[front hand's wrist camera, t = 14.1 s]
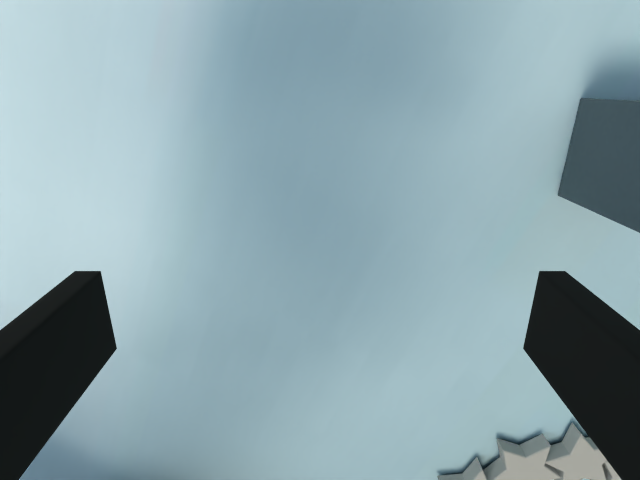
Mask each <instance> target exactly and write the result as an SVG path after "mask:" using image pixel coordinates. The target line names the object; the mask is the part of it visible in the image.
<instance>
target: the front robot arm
mask: <svg viewBox="0 0 640 480" xmlns="http://www.w3.org/2000/svg"><path fill="white" fill-rule="evenodd" d="M116 349H117V348H116V343H115V338H114V333H113V328H112V324H111V319H110V314H109V309H108V304H107V300H106V295H105V290H104V285H103V280H102V276H101V271H75V272H73V273H72V274H71V275H70V276H68V277H67V278H66V279H65V280H63V281H62V282H61V283H59V284H58V285H57V286H56V287H54V288H53V289H52V290H51V291H49V292H48V293H47V294H46V295H44V296H43V297H42V298H41V299H39V300H38V301H37V302H35V303H34V304H33V305H32V306H30V307H29V308H28V309H27V310H25V311H24V312H23V313H22V314H20V315H19V316H18V317H17V318H15V319H14V320H13V321H11V322H10V323H9V324H8V325H6V326H5V327H4V328H3V329H1V330H0V480H19V478H20V477H21V476H22V474H23V473H24V472H25V470H26V469H27V468H28V466H29V465H30V464H31V462H32V461H33V460H34V458H35V457H36V456H37V454H38V453H39V452H40V450H41V449H42V448H43V446H44V445H45V444H46V442H47V441H48V440H49V438H50V437H51V436H52V434H53V433H54V432H55V430H56V429H57V428H58V426H59V425H60V424H61V422H62V421H63V420H64V418H65V417H66V416H67V414H68V413H69V412H70V410H71V409H72V408H73V406H74V405H75V404H76V402H77V401H78V400H79V398H80V397H81V396H82V394H83V393H84V392H85V390H86V389H87V388H88V386H89V385H90V384H91V382H92V381H93V380H94V378H95V377H96V376H97V374H98V373H99V372H100V370H101V369H102V368H103V366H104V365H105V364H106V362H107V361H108V360H109V358H110V357H111V356H112V354H113V353H114V352H115V350H116ZM523 349H524V350H525V352H526V353H527V354H528V356H529V357H530V358H531V360H532V361H533V362H534V364H535V365H536V366H537V368H538V369H539V370H540V372H541V373H542V374H543V376H544V377H545V378H546V380H547V381H548V382H549V384H550V385H551V386H552V388H553V389H554V390H555V392H556V393H557V394H558V396H559V397H560V398H561V400H562V401H563V402H564V404H565V405H566V406H567V408H568V409H569V410H570V412H571V413H572V414H573V416H574V417H575V418H576V420H577V421H578V422H579V424H580V425H581V426H582V428H583V429H584V430H585V432H586V433H587V434H588V436H589V437H590V438H591V440H592V441H593V442H594V444H595V445H596V446H597V448H598V449H599V450H600V452H601V453H602V454H603V456H604V457H605V458H606V460H607V461H608V462H609V464H610V465H611V466H612V468H613V469H614V470H615V472H616V473H617V474H618V476H619V477H620V478H621V480H640V330H639V329H637V328H636V327H635V326H634V325H632V324H631V323H630V322H629V321H627V320H626V319H625V318H623V317H622V316H621V315H620V314H618V313H617V312H616V311H615V310H613V309H612V308H611V307H610V306H608V305H607V304H606V303H605V302H603V301H602V300H601V299H599V298H598V297H597V296H596V295H594V294H593V293H592V292H591V291H589V290H588V289H587V288H586V287H584V286H583V285H582V284H581V283H579V282H578V281H577V280H575V279H574V278H573V277H572V276H570V275H569V274H568V273H567V272H565V271H539V276H538V280H537V285H536V290H535V295H534V300H533V304H532V309H531V314H530V319H529V324H528V328H527V333H526V338H525V343H524V348H523Z"/></svg>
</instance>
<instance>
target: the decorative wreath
mask: <svg viewBox="0 0 640 480" xmlns="http://www.w3.org/2000/svg"><path fill="white" fill-rule="evenodd" d="M497 442H498V448H499V454H500V457H499V458H498V459H497V460H495V461H494V462H493V463H491V464H490V465H489V466H488V467H486V468H485V469H484V470H482V467H481V465H480V463H479V461H478V458H477V457H476V458H475V460H474V461H473V462H472V463H471V464H470V465H469V466H468V468H467V469H466V470H465V471H464V472H463V473H462V474H451V475H440V476H437V477H438V480H553V479H554V480H581V479H583V478H586V479H590V480H621V478H620V477H619V476H618V474H617V473H616V472H615V470H614V469H613V468H612V466H611V465H610V464H609V462H608V461H607V460H606V458H605V457H604V456H603V454H602V453H601V452H600V450H599V449H598V448H597V446H596V445H595V444H594V442H593V441H592V440H591V438H590V437H584V436H583V435H582V434H581V432H580V431H579V430H578V429H577V428H576V427H575V425H574V424H573V423H571V425H570V427H569V429H568V431H567V433H566V435H565V437H564V439H563V440H562V442H560V443H557V444H554V445H550V444H549V442H548V441H547V439H546V438H545V436H544V435H543V434H541V435H539V436H537V437H535V438H533V439H530V440H528V441H526V442H524V443H522V444H520V445H517V444H514V443H511V442H508V441H505V440H501V439H498V438H497ZM602 464H603V465H602Z"/></svg>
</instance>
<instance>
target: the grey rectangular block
mask: <svg viewBox="0 0 640 480" xmlns="http://www.w3.org/2000/svg"><path fill="white" fill-rule="evenodd" d="M558 196H560V197H562V198H565V199H567V200H569V201H571V202H573V203H576V204H578V205H580V206H582V207H584V208H586V209H589V210H591V211H593V212H595V213H597V214H600V215H602V216H604V217H606V218H608V219H611V220H613V221H615V222H617V223H619V224H622V225H624V226H626V227H628V228H630V229H633V230H635V231H637V232H639V233H640V100H615V99H588V98H582V99H581V100H580V104H579V109H578V113H577V117H576V121H575V125H574V130H573V134H572V138H571V142H570V147H569V151H568V155H567V159H566V163H565V168H564V172H563V176H562V180H561V185H560V189H559V193H558Z"/></svg>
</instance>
